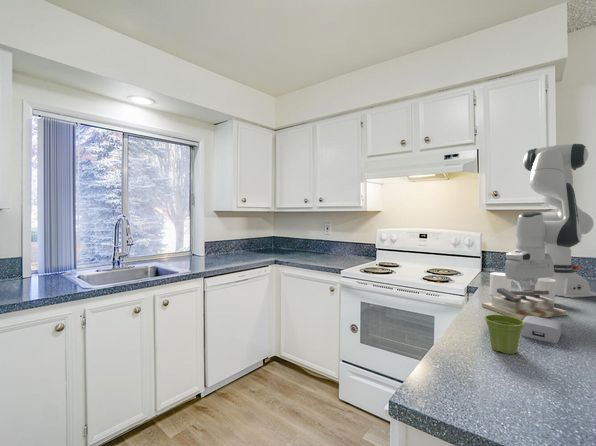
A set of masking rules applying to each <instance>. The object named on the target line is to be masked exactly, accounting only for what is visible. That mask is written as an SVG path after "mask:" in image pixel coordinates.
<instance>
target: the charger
mask: <svg viewBox="0 0 596 446" xmlns="http://www.w3.org/2000/svg"><path fill="white" fill-rule="evenodd" d="M522 321H523V322H524V325H523V326H522V330H521V332H520V335H521V336H522V337H526V338H529V339H530V338H531V339H535V340H539V341H543V342H546V343H547V342H548V343H551V344H557V343H559V340H560V338H561V335H562V322H560V321H559V320H556V319H549V318H546V317H544V318H540V317H534V316H526V317H525V318H524V320H522Z"/></svg>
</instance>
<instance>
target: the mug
mask: <svg viewBox="0 0 596 446" xmlns="http://www.w3.org/2000/svg"><path fill="white" fill-rule="evenodd" d="M512 283H514V284H515V285H516V286H517V288H518V289H516V291H522V287H521V284H520V283H519V282H518V281H517V280H512V279H508V278H507V277H506V275H505V272H495V271H494V272H490V273H489V295H490V296H491V297H494V296H503V295H501V294H500V293H498V292H497V289H499V288H504V289H506V290H508V291H512Z"/></svg>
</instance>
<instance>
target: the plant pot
mask: <svg viewBox="0 0 596 446" xmlns="http://www.w3.org/2000/svg"><path fill="white" fill-rule="evenodd" d="M484 320H485V322H486V325H487V327H488V334H489V341H490V347H491V349H492V350H494V351H496V352H501V353H503V354H506V355H507V354H508V355H512V354H513V355H514V354H517V352H518V349H519V342H520V335H521V334H520V332H521V330H522V326H523V325H524V322H523V320H520V319H517V318H514V317H510V316H507V315H504V314H487V315H485V316H484Z"/></svg>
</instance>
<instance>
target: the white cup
mask: <svg viewBox="0 0 596 446" xmlns="http://www.w3.org/2000/svg"><path fill="white" fill-rule="evenodd" d="M555 288H556V280H553V279H548V278H538V282H537V283H536V285H535V290H548V291H549V294H547V295H540V296H542V297H546V298H550V299H554V300H555V296H556V295H555ZM535 295H539V294H535Z"/></svg>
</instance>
